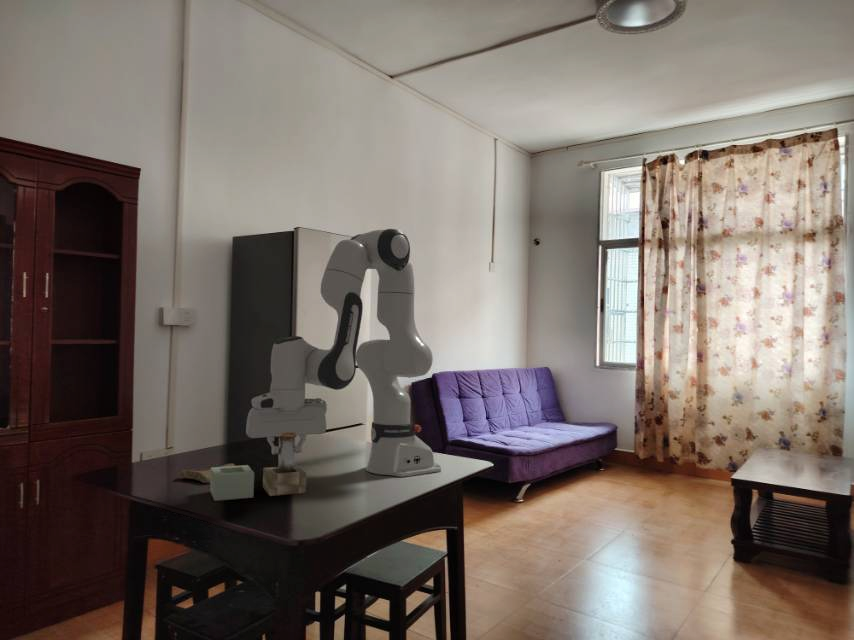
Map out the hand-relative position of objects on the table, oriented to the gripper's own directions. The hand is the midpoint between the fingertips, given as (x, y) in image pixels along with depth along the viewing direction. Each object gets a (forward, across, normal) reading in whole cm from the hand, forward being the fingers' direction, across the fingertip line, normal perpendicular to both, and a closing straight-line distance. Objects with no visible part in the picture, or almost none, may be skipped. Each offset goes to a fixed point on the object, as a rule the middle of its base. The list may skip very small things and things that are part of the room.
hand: (286, 453), depth 158 cm
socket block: (+9, +14, 0) cm, 16 cm away
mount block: (+9, 0, 0) cm, 9 cm away
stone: (+10, +16, -19) cm, 27 cm away
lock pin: (+8, 0, 0) cm, 8 cm away
